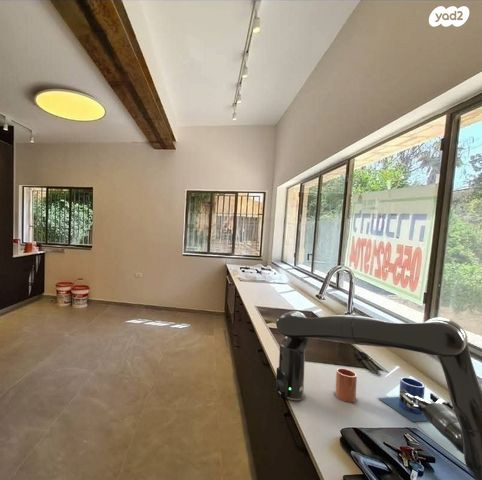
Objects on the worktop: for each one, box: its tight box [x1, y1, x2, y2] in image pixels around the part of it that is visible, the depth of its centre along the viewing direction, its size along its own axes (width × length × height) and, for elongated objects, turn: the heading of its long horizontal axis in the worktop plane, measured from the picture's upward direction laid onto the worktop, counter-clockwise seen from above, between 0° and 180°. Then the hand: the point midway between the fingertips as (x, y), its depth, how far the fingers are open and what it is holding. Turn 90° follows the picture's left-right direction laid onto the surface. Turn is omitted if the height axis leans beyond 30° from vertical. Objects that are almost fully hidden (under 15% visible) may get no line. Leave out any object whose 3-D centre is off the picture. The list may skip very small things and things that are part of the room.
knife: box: [354, 350, 381, 375], centre depth 136 cm, size 25×6×1 cm, turn 154°
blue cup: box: [398, 376, 426, 414], centre depth 100 cm, size 7×7×10 cm
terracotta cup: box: [334, 367, 358, 403], centre depth 107 cm, size 7×7×10 cm
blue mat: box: [378, 396, 429, 423], centre depth 101 cm, size 13×13×1 cm
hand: (416, 393), depth 97 cm, fingers open, 8 cm apart
